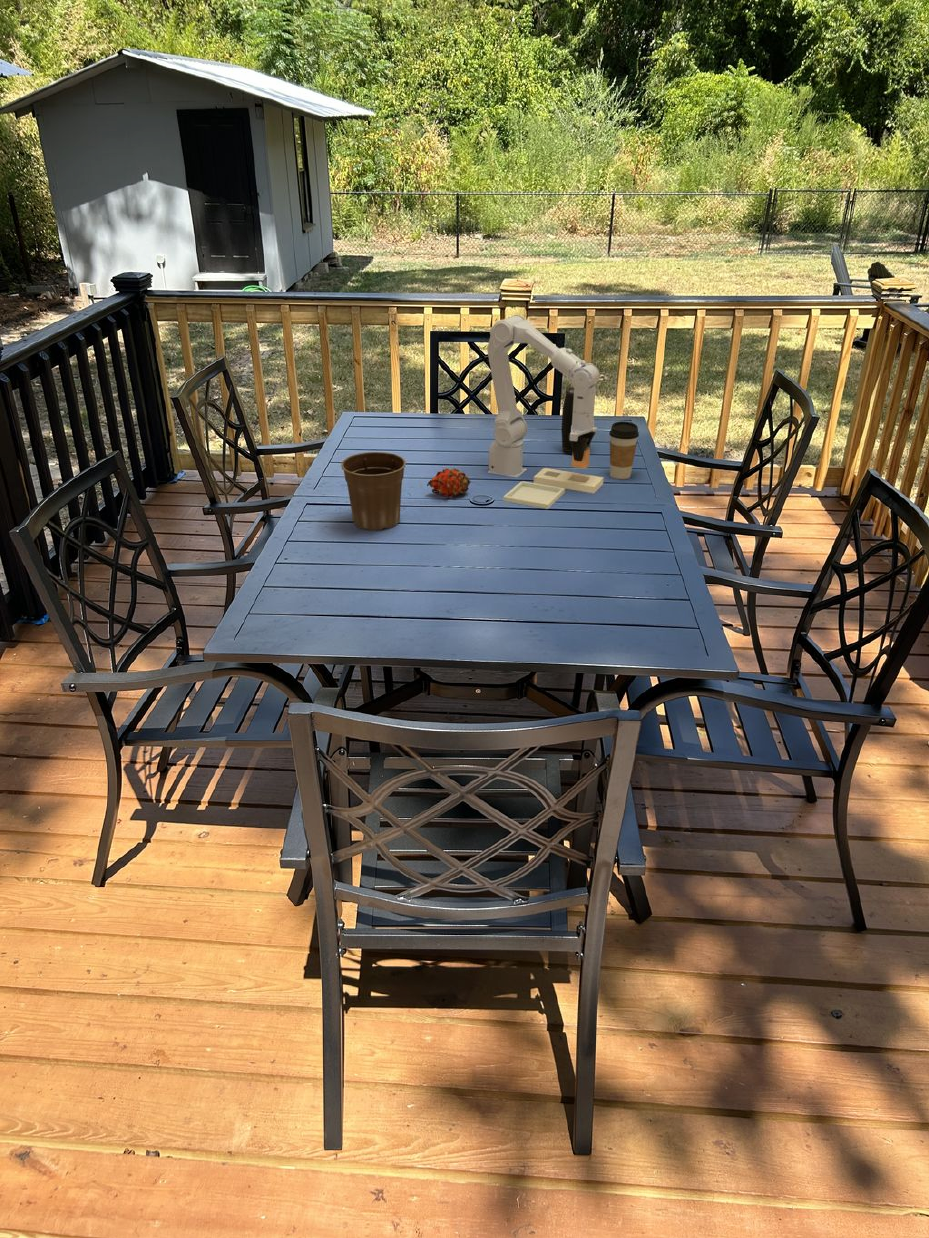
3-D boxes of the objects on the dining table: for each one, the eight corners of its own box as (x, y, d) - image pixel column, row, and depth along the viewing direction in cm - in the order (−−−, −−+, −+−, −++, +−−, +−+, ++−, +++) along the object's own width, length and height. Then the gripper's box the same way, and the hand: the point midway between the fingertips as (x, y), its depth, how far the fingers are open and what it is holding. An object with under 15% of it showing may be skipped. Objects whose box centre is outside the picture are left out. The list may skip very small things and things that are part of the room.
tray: (503, 502, 246) (503, 496, 245) (521, 487, 256) (521, 481, 255) (547, 511, 241) (547, 504, 240) (564, 494, 251) (565, 488, 250)
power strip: (533, 484, 258) (534, 476, 256) (543, 475, 264) (544, 467, 263) (593, 495, 251) (594, 486, 250) (602, 485, 257) (603, 477, 256)
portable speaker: (554, 451, 282) (557, 389, 273) (575, 445, 288) (579, 383, 278) (575, 458, 277) (578, 395, 267) (595, 451, 282) (600, 389, 272)
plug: (571, 466, 253) (573, 446, 250) (575, 463, 255) (576, 442, 252) (585, 468, 251) (586, 448, 248) (588, 465, 254) (590, 444, 251)
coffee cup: (633, 471, 267) (638, 421, 260) (635, 481, 260) (640, 430, 253) (605, 470, 268) (609, 420, 261) (606, 480, 261) (610, 429, 253)
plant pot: (398, 537, 227) (396, 476, 219) (336, 531, 230) (332, 471, 222) (414, 512, 241) (412, 454, 233) (356, 507, 243) (352, 449, 235)
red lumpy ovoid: (473, 502, 250) (431, 508, 252) (471, 476, 254) (429, 482, 255) (469, 486, 243) (425, 491, 244) (467, 459, 246) (424, 465, 247)
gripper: (588, 420, 238) (585, 469, 245) (605, 405, 249) (602, 452, 256) (563, 416, 241) (560, 465, 248) (581, 402, 252) (578, 449, 259)
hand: (580, 458), depth 252 cm, fingers closed on plug, 3 cm apart
